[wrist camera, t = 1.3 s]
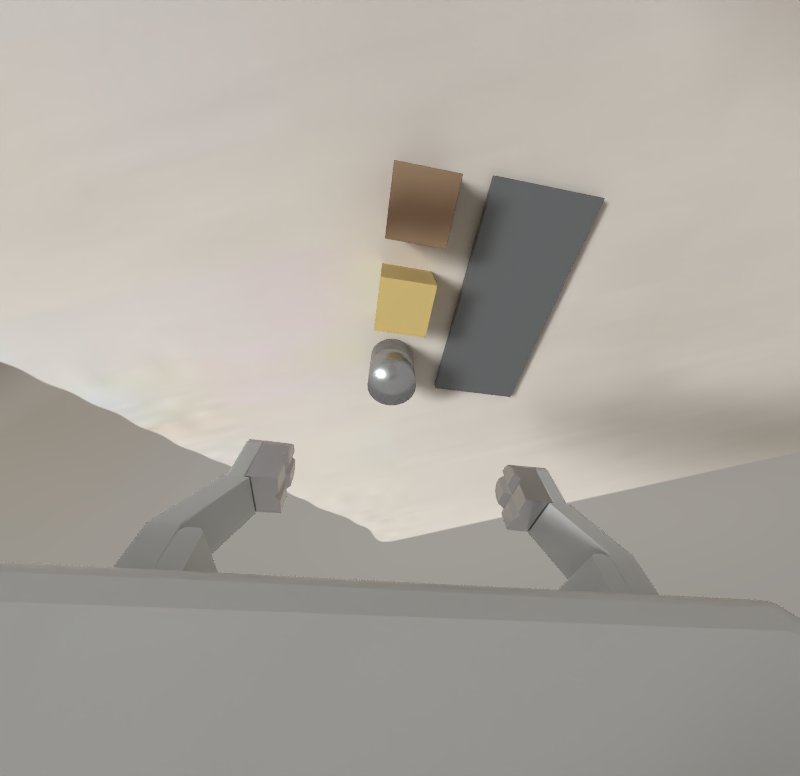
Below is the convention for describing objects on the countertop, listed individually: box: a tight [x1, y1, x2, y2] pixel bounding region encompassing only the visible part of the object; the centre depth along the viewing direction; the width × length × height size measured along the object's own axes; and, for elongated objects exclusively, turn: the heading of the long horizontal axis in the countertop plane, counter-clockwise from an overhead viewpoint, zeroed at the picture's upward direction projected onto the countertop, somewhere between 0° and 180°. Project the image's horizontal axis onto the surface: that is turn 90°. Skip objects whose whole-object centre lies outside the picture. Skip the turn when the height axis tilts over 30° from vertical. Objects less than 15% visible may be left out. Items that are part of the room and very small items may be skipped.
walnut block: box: [385, 160, 463, 249], centre depth 24 cm, size 5×5×5 cm
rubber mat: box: [435, 176, 605, 397], centre depth 32 cm, size 22×10×1 cm, turn 171°
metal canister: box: [368, 339, 416, 405], centre depth 33 cm, size 5×5×6 cm
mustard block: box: [374, 263, 437, 337], centre depth 29 cm, size 5×5×5 cm
